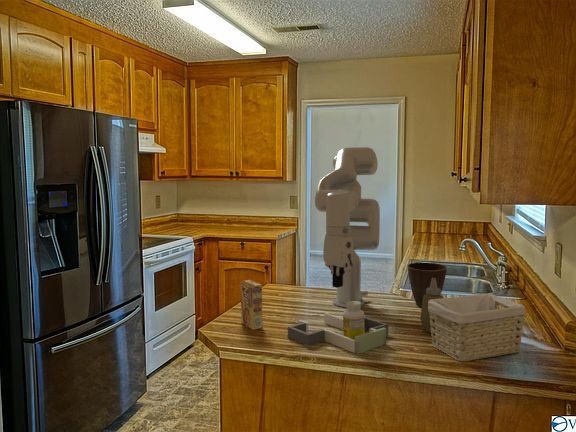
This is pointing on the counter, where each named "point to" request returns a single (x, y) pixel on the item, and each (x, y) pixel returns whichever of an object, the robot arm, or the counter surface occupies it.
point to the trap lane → (364, 342)
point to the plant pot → (425, 278)
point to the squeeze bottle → (431, 294)
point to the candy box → (251, 304)
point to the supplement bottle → (353, 320)
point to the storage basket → (476, 326)
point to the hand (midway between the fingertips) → (337, 286)
